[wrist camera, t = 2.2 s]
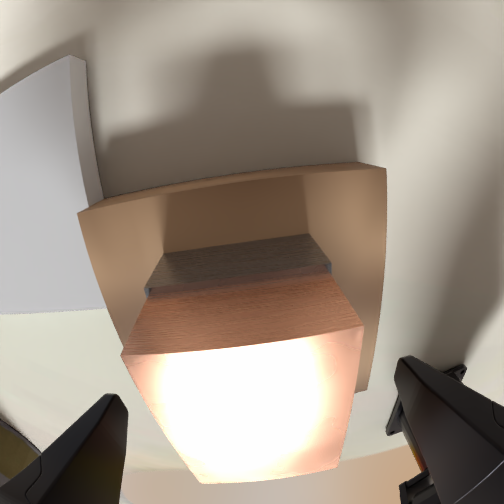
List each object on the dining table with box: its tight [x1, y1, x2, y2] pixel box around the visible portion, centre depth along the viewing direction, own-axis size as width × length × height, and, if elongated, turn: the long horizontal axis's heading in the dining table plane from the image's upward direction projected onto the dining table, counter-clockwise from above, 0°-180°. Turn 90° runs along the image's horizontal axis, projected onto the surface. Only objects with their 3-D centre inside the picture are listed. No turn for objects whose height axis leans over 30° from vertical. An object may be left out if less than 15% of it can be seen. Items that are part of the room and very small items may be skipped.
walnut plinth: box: [77, 162, 387, 393], centre depth 12 cm, size 11×11×2 cm
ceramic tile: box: [0, 54, 107, 314], centre depth 10 cm, size 11×11×2 cm
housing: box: [121, 233, 364, 483], centre depth 9 cm, size 7×5×5 cm
